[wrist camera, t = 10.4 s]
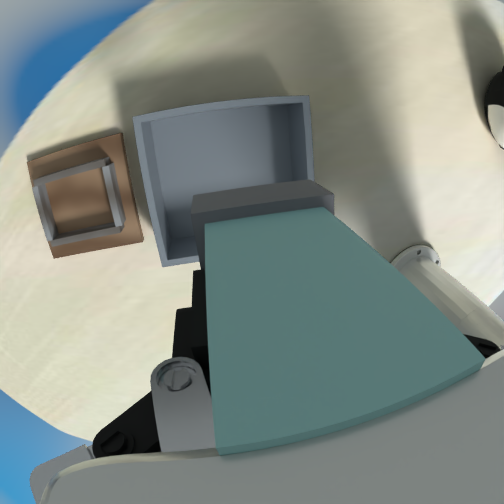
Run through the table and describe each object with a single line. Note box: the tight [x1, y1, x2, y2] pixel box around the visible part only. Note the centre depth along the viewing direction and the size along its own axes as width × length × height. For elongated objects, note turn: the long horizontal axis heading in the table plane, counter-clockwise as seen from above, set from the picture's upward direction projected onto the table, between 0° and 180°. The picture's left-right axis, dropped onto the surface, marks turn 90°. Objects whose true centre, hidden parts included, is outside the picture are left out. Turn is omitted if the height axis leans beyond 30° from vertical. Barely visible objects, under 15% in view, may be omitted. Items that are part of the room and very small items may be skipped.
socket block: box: [27, 133, 144, 258], centre depth 30 cm, size 13×13×3 cm
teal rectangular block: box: [190, 179, 485, 456], centre depth 9 cm, size 5×7×10 cm
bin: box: [133, 95, 314, 267], centre depth 30 cm, size 15×16×6 cm
